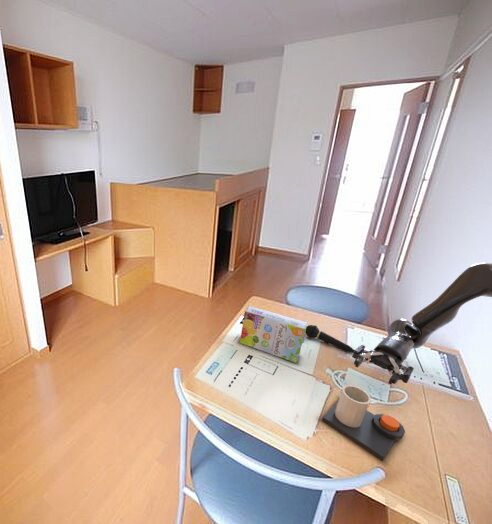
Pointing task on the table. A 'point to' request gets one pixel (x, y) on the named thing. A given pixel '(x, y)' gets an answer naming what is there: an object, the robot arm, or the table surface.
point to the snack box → (273, 333)
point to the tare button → (389, 423)
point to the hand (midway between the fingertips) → (373, 372)
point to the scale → (367, 432)
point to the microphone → (326, 338)
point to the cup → (352, 406)
